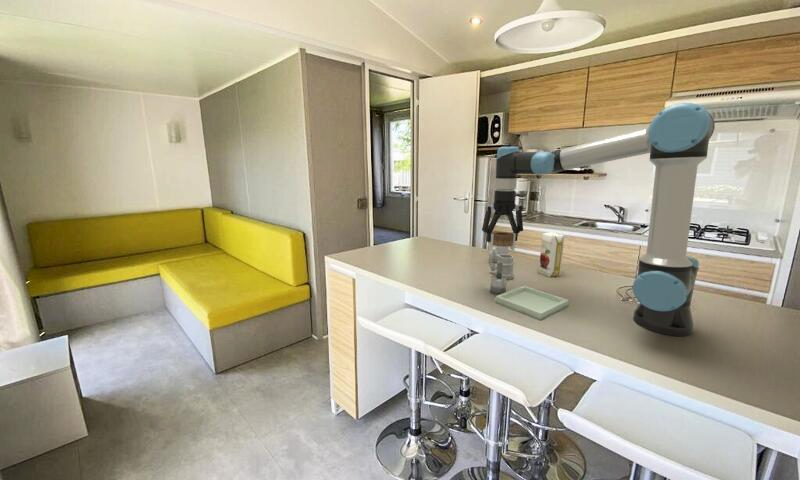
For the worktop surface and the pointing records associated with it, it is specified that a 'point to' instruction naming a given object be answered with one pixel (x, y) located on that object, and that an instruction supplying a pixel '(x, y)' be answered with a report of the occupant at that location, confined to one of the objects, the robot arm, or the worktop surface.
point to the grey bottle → (498, 282)
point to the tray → (532, 302)
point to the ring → (502, 238)
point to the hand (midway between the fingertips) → (501, 249)
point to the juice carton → (551, 254)
